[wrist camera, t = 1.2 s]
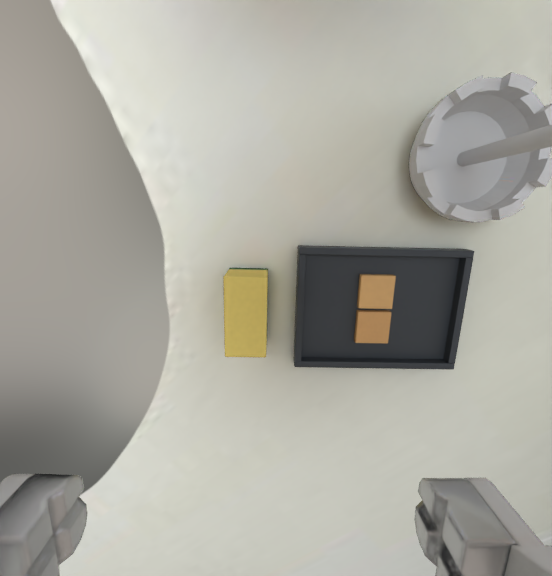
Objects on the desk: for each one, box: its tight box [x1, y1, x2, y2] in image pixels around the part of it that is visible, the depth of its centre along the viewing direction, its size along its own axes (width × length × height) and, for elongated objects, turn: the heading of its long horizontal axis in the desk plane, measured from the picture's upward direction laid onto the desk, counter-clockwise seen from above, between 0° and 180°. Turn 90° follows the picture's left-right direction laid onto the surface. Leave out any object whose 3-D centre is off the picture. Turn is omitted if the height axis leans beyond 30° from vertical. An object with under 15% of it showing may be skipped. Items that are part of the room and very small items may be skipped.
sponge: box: [224, 268, 268, 357], centre depth 36 cm, size 9×4×5 cm, turn 179°
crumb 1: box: [357, 274, 396, 309], centre depth 37 cm, size 4×4×1 cm
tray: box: [294, 246, 474, 369], centre depth 38 cm, size 15×20×2 cm
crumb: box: [354, 310, 391, 343], centre depth 38 cm, size 4×4×1 cm
